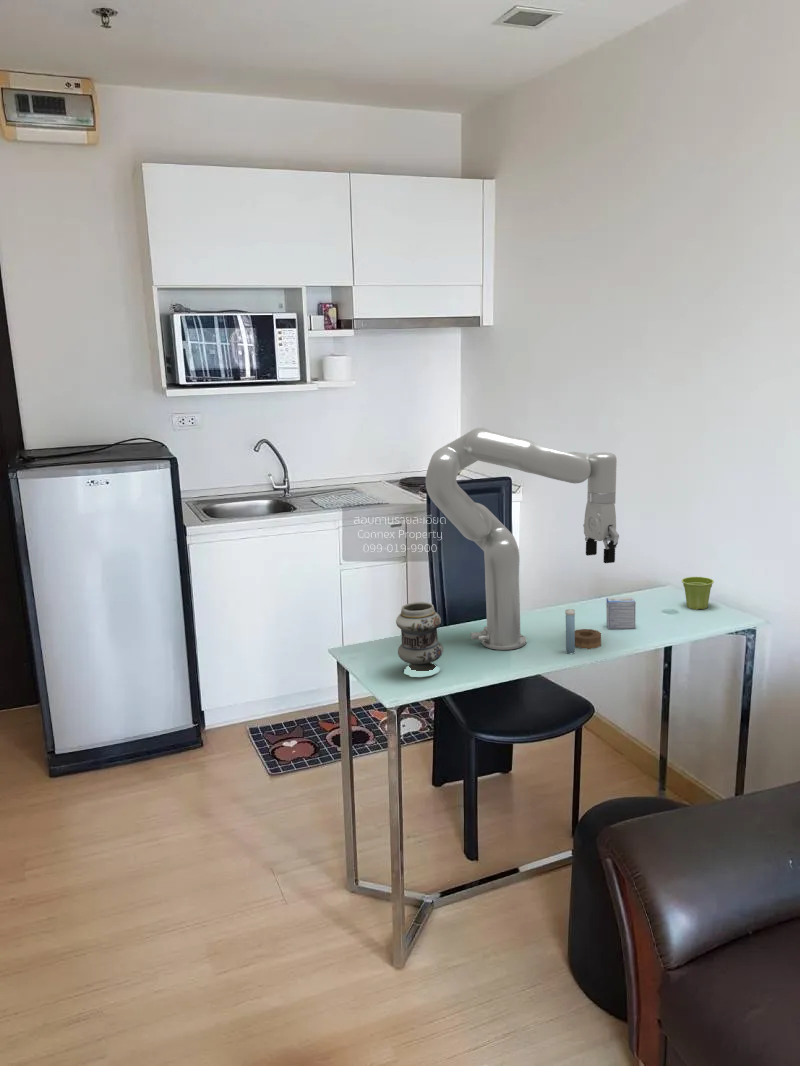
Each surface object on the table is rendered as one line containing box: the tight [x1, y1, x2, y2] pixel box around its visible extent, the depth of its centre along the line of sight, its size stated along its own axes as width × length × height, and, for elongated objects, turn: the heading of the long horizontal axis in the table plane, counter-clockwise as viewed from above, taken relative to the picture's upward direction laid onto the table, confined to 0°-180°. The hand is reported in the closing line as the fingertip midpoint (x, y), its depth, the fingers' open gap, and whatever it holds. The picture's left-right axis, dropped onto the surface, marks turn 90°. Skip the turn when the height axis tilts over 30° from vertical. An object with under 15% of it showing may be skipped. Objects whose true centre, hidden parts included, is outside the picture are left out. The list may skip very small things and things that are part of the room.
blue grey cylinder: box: [564, 608, 576, 654], centre depth 221 cm, size 2×2×12 cm
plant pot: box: [681, 576, 714, 610], centre depth 255 cm, size 9×9×9 cm
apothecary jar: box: [395, 601, 444, 671], centre depth 213 cm, size 12×12×18 cm
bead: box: [575, 628, 602, 650], centre depth 228 cm, size 8×8×3 cm
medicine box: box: [605, 596, 637, 630], centre depth 240 cm, size 8×4×9 cm, turn 84°
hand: (599, 558), depth 226 cm, fingers open, 9 cm apart
